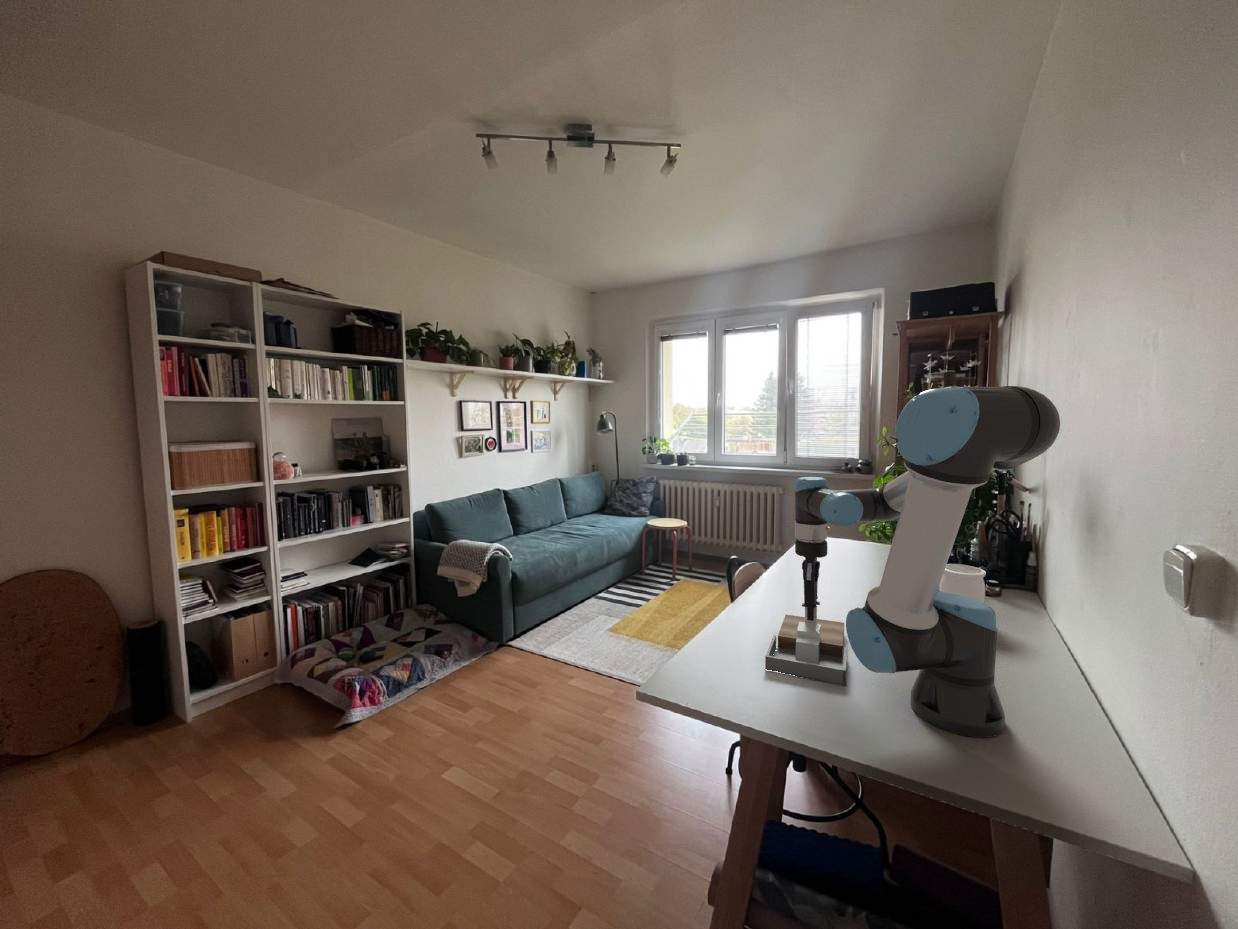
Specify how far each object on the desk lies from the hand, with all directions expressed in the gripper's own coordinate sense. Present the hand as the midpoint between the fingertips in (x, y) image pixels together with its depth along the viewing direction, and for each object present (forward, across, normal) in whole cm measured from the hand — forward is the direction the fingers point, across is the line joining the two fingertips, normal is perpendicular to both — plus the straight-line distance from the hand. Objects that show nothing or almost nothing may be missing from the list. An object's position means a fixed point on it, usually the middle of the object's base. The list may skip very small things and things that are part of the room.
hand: (810, 630), depth 123 cm
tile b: (+1, -3, 0) cm, 3 cm away
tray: (+5, -9, 0) cm, 10 cm away
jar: (+5, +36, -37) cm, 51 cm away
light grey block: (+2, -6, 0) cm, 6 cm away
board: (+5, +4, 0) cm, 7 cm away
